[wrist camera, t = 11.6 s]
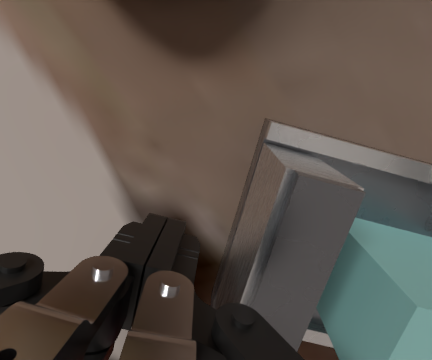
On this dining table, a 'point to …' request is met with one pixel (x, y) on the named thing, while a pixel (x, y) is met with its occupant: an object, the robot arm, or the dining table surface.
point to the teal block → (380, 295)
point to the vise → (360, 174)
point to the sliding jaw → (288, 239)
